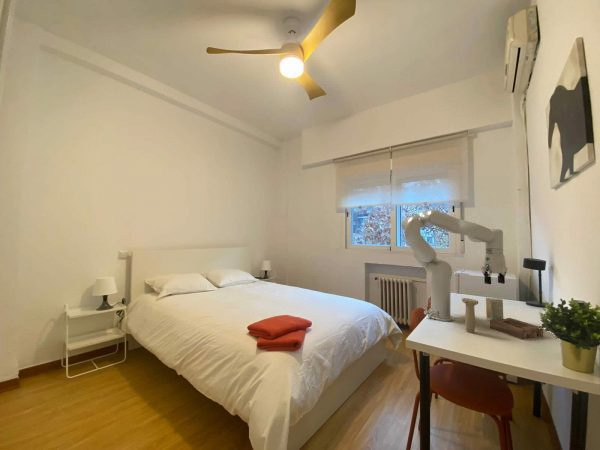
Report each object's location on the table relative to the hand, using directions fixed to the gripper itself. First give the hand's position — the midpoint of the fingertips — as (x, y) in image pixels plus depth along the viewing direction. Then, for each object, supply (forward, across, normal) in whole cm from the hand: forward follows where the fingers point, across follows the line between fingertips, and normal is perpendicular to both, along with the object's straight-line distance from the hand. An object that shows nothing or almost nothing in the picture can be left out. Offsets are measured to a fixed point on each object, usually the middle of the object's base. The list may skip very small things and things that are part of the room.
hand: (494, 283), depth 134 cm
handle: (+20, -28, -9) cm, 36 cm away
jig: (+20, -6, -14) cm, 25 cm away
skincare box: (+20, 0, 0) cm, 20 cm away
